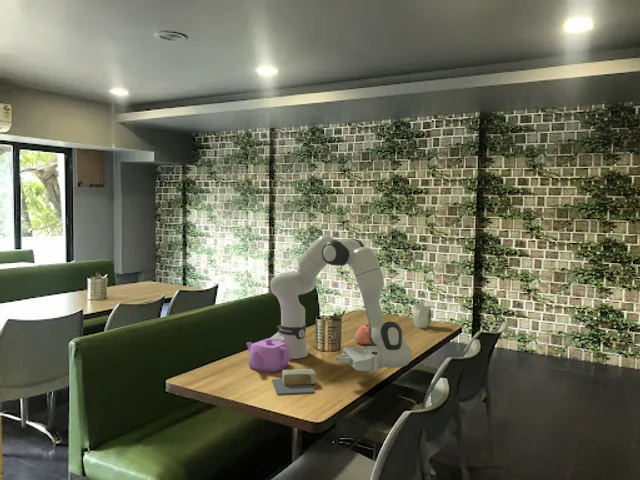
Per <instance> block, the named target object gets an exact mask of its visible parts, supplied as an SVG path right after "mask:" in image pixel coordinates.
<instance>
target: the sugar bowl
mask: <svg viewBox="0 0 640 480" xmlns="http://www.w3.org/2000/svg"><path fill="white" fill-rule="evenodd" d="M369 333H370V325H369V322H366V323H364V324H363V325H360V326H359V327H358V328H357V330H356V332H355V336H354V339H355V341H356V342H357V344H360V345H362V346H363V345H369V346H373V345H372V343H371V342H370V338H369Z"/></svg>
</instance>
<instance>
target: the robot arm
mask: <svg viewBox="0 0 640 480" xmlns="http://www.w3.org/2000/svg"><path fill="white" fill-rule="evenodd" d="M302 253H303V254H302V255H301V256H300V257H299V258H298V260H297V264H298V265H297V266H298V267H297V268H296V269H295V270H292V271H290V272H289V271H288V272H282V273H278V274H276V275H275V276H273V277H272V278H271V280H270V283H269V287H270V290H271V293H272V294H273V295H274V296H276V298H277V300H278V302H279V306H280V315H281V316H280V318H281V319H280V323H281V324H278V325H276V328H277V329H278V330H277V332H276V333H274V335H272V336H271V337H269V338H270V339H273V340H272V341H279V340H280V341H283V342H284V343H285V344H286V346H287V348H290V360H295V359H297V360H299V359H303V358H306V357H307V356H309V354H308V352H309V351H308V348H307V338H306V337H307V336H306V331H307V325H306V309H305V307H304V305H303V304H301V303H300V300H299V296H300V295H304V294H307V293H310V292H311V291H313V290H314V289H315V288H316V286H317V277H318V275H319V274H320V273H321V272H322V270H323V269H324V268H325V266H326V265H332V266H335V267H336V266H345V265H346V266H347V265H348V266H350V267H351V268H352V272H353V273H354V276H355V280H356V283H357V286H358V289H359V292H360V294H361V298H362V301H363V305H364V309H365V312H366V316H367V321H368V323H369V325H370V333H369V338H370V342H371V343H372V345H366V346H365V347H364V349H363V348H361V347H358V346H356V347H354V346H353V347H352V346H349V347H347V346H345V347H343V348H342V354H341V355H340V354H339V355H336V357H335V360H336V361H337V363H344V364H345V363H346V364H350V366H351V367H352V368H353V369H354V370H355V371H360V372H371V371H372V372H374V373H376V372H379V369H382V368H388V369H396V368H402V367H406V366H408V365H409V364H410V362H411V360H412V348H411V347H410V346H409V344H407V342H406V340H405V337H404V334H403V329H402V327H401V326H400V325H399V324H398V323H397V322H395V321H391V320H390V321H386V322H385V320H384V315H383V313H382V309H381V305H380V298H381V295H382V292H383V289H384V286H385V280H384V279H385V278H384V274H383V271H382V268H381V266H380V264H379V261H378V258H377V256H376V255H375V253H374V251H373V250H372V248H370V247H367V246H365V244H364V243H363V242H362V240H359V239H356V238H340V239H335V238H334V237H332V236H330V235H327V234H323V235H321V236H319V237H318V238H317V239H315V241H313V242H312V243H311V244H310V245H309V246H308V247H307V249H305V251H304V252H302Z"/></svg>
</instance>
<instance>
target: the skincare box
mask: <svg viewBox="0 0 640 480" xmlns="http://www.w3.org/2000/svg"><path fill="white" fill-rule="evenodd" d="M281 371H282V372H281V375H282V377H281V379H282V381H283V384H284V385H301V384H311V385H315V384H316V372H315V371H314V369H313V368H299V369H297V368H296V369H282V370H281Z"/></svg>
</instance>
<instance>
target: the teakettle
mask: <svg viewBox="0 0 640 480" xmlns="http://www.w3.org/2000/svg"><path fill="white" fill-rule="evenodd" d="M270 338H271V337H269V338H265V339H262V340H259V341H257V342H252V341H251V342H246V347H247V349H248V351H249V354H248V367H249V369H251V370H255V371H259V372H264V373H271V374H274V373H277V372H280V371H282V370H285V369H286V368H287V367H288V364H289V363H290V362H291V359H290V348H287V346H286V344H285V343H284V342H283V341H280V340H279V341H272V340H273V339H270Z"/></svg>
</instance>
